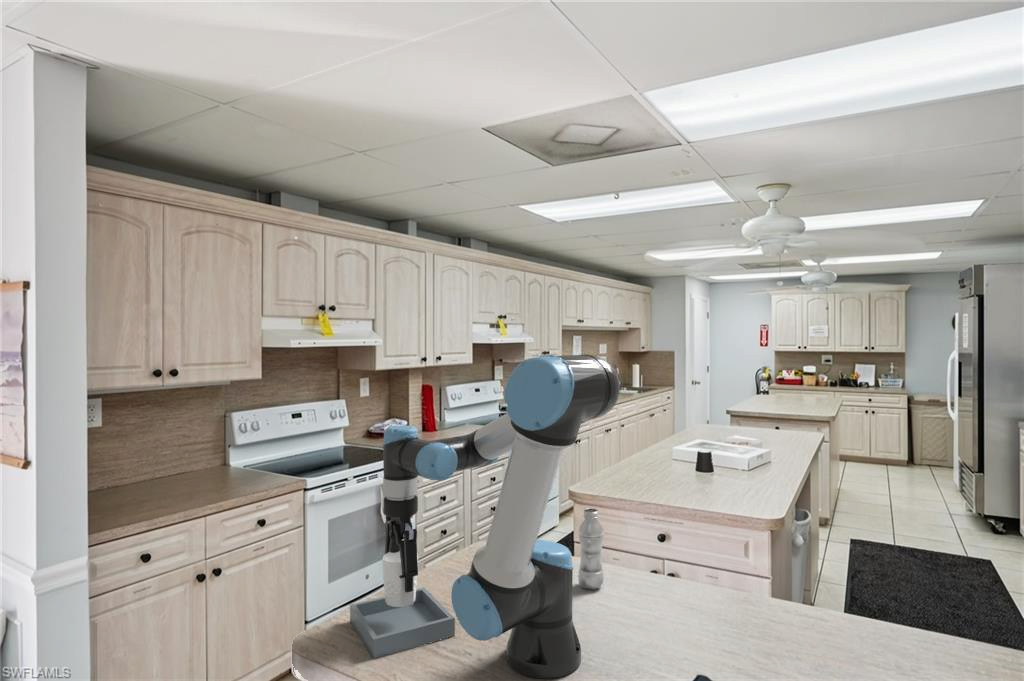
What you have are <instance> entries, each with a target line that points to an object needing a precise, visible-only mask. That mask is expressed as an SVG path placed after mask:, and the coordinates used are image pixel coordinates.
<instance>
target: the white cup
mask: <svg viewBox="0 0 1024 681" xmlns="http://www.w3.org/2000/svg"><path fill="white" fill-rule="evenodd" d="M417 563H418V564H419V553H418V552H417ZM382 573H383V574H382V575H383V576H382V578H383V590H384V597H385V603H386V604H387V605H389V606H392V607H401V579H400V577H399V576H400V575H402V567H401V559H400V551H399V552H397V553H391V552H388V553H386V554H385V553H384V555H383V556H382ZM417 584H418V575H417V576H414V601H415V599H416V589H418V588H417V587H418V586H417Z"/></svg>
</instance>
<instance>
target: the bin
mask: <svg viewBox="0 0 1024 681" xmlns="http://www.w3.org/2000/svg"><path fill="white" fill-rule="evenodd" d="M349 611H350V612H349V616H350V617H349V620H350V621H349V622H350V624H351V625H352V627H353V629H354V630H355V632H356V633H357V635H358V636H359V638H360V640H361V641H362V643H363V644H364V646H365V647H366V649H367V651H368V652H369V654H370V656H371V658H372V659H373V660H376V659H380V658H382V657H386V656H390V655H392V654H393V655H394V654H397V653H401V652H404V651H408V650H411V649H414V647H415V648H418V647H417V646H419V647H421V645H422V646H425V645H424V644H426V645H428V644H427V643H429V644H431V643H430V642H433V643H435V642H434V641H436V642H439V641H438V640H440V639H443V640H446V639H445V638H447V639H449V638H448V637H450V638H452V637H451V636H454V637H456V633H455V632H456V629H455V628H456V620H455V619H456V618H455V617H454V615H452V614H451V612H450V611H449V610H448V609H446V607H444V605H443V604H441V603H440V602H439V601H438V600H437V599H436V598H435V597H434V596H433V595H432V594H431V592H429V591H428V590H427V589H426V588H425V587H420V588H416V599H415V601H414V604H413V605H409V606H405V607H392V606H389V605H387V604H386V603H385V596H381V597H377V598H373V599H368V600H364V601H363V600H362V601H359V602H355V603H350V605H349ZM440 641H441V640H440ZM403 650H404V651H403ZM400 651H401V652H400Z"/></svg>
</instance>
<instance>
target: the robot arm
mask: <svg viewBox="0 0 1024 681" xmlns="http://www.w3.org/2000/svg"><path fill="white" fill-rule="evenodd" d="M620 386H621V384H620V380H619V376H618V374H617V372H616V371H615V369H614V367H613V366H612V364H610V363H609V362H608V361H607V360H606V359H603V358H602V357H600V356H597V355H594V354H593V355H592V354H589V353H588V354H575V355H574V354H571V355H553V354H547V355H546V354H545V355H541V356H540V355H539V356H536V357H531V358H528V359H526V360H524V361H522V362H521V363H518V364H517V365H516V366H515V367H514V369H513V370H512V371H511V372H510V375H509V376H508V378H507V381H506V384H505V389H504V392H503V393H504V396H503V397H504V399H503V400H504V403H506V405H507V406H506V407H505V411H506V413H505V414H503V415H501V416H499V417H497V418H496V419H494V420H492V421H491V422H488V423H487V424H485V425H483V426H481V427H479V428H478V429H476V430H474V431H471V432H470V433H468V434H463V435H459V436H458V435H457V436H453V437H446V438H445V437H444V438H440V439H439V438H438V439H433V440H425V439H421V438H419V432H418V428H417V427H416V426H413V425H402V424H401V425H392V426H388V427H387V428H385V429H384V432H383V444H382V447H383V449H382V451H383V454H382V455H383V456H382V457H383V458H382V459H383V464H382V465H383V477H382V478H383V479H382V480H383V481H382V482H383V483H382V487H383V488H382V494H383V496H385V497H383V514H384V515H385V523H386V524H385V525H386V526H385V547H384V555H385V554H386V553H388V552H391V553H397V552H399V551H400V559H401V567H402V575H400V576H399V577H400V579H401V607H405V606H409V605H413V604H414V576H417V577H418V575H419V562H418V563H417V553H418V550H417V549H418V547H417V546H418V545H417V537H418V536H417V535H418V531H417V528H413V523H412V520H411V517H413V516H414V515H416V514H417V513H418V511H419V502H418V501H419V497H418V496H417V495H418V492H419V491H418V488H419V487H418V486H419V484H418V483H420V478H419V477H423V478H424V479H426V480H431V481H445V480H448V479H449V478H450V477H451V476H452V475H454V473H457V472H460V471H465V470H470V469H473V468H474V469H475V468H483V467H486V466H489V465H492V464H494V463H496V462H497V461H498V459H499V458H500V457H502V456H504V455H506V454H508V453H509V452H510V456H509V459H508V462H507V467H506V471H505V473H504V477H503V481H502V485H501V488H500V492H499V494H498V499H497V502H496V506H495V509H494V513H493V516H492V519H491V525H490V529H489V532H488V535H487V538H486V543H485V544H484V546H482V547H480V548H478V549H477V550H476V551H475V553H474V555H473V559H472V563H471V565H470V568H469V571H468V573H466V574H462V575H460V576H459V577H458V578H457V579H456V580H455V581H454V582H453V584H452V587H451V592H450V593H451V596H450V598H451V604H452V608H453V611H454V614H455V616H456V619H457V621H458V623H459V624H460V626H461V627H462V629H463V630H464V631H465V632H466V633H467V634H468V635H469V636H470V637H472V638H473V639H475V640H477V641H482V642H484V641H488V640H490V639H493V638H498V637H500V636H501V635H502V634H504V633H506V632H508V631H510V634H509V638H508V641H507V644H506V661H507V662H506V663H507V664H508V665H509V666H510V667H511V668H512V669H513V670H514V671H515V672H517V673H518V674H521V675H523V676H526V677H530V678H533V679H545V680H546V679H555V678H561V677H564V676H568V675H570V674H571V673H573V672H574V671H576V670H577V669H578V668H579V667H580V665H581V662H582V648H581V647H582V646H581V643H580V640H579V636H578V633H577V630H576V628H575V624H574V621H573V570H574V567H573V556H572V555H573V554H572V552H571V550H570V549H569V547H567V546H565V545H564V544H561V543H558V542H555V541H551V540H543V539H538V536H539V533H540V529H541V527H542V523H543V520H544V516H545V514H546V513H545V512H546V509H547V506H548V503H549V500H550V496H551V494H552V490H553V487H554V483H555V479H556V476H557V472H558V470H559V466H560V463H561V461H562V456H563V453H564V450H566V449H568V448H570V447H572V446H574V445H575V443H576V440H577V438H578V435H579V432H580V428H581V426H582V424H584V423H586V422H588V421H592V420H594V419H598V418H600V417H603V416H605V415H607V414H608V413H609V412H610V411H611V410H612V409H614V407H615V406H616V404H617V401H618V400H619V396H620V393H621V392H620V388H621V387H620ZM418 476H419V477H418Z"/></svg>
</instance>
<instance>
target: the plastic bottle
mask: <svg viewBox="0 0 1024 681" xmlns="http://www.w3.org/2000/svg"><path fill="white" fill-rule="evenodd" d="M604 535H605V530H604V527H603V525H602V524H601V522H600V521H599V510H598V509H596V508H592V507H591V508H585V509H583V521H582V522H581V523H580V526H579V527H578V537H579V545H580V547H579V548H580V560H579V569H578V573H577V579H578V583H579V586H580V587H582V588H583V589H587V590H597V589H599V588H601V587H602V586H603V584H604V578H605V576H604V570H603V560H602V551H603V549H602V547H603V541H604V540H603V539H604Z"/></svg>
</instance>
